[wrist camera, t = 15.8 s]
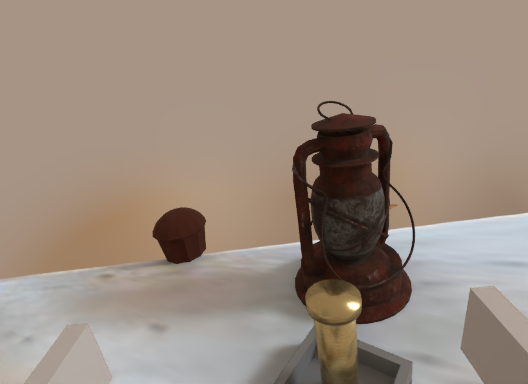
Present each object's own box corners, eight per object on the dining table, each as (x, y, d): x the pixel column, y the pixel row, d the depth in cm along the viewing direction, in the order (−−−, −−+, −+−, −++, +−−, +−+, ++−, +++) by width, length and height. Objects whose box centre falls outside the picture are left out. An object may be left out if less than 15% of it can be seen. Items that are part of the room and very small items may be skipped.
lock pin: (309, 404, 35) (295, 305, 30) (329, 368, 39) (320, 273, 33) (354, 431, 32) (348, 325, 27) (372, 388, 36) (369, 288, 30)
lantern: (341, 345, 43) (326, 122, 32) (276, 274, 59) (251, 111, 48) (439, 290, 49) (454, 91, 38) (356, 240, 66) (350, 90, 55)
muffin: (185, 272, 64) (173, 229, 60) (149, 261, 70) (136, 221, 66) (221, 242, 73) (213, 203, 69) (187, 235, 79) (177, 198, 75)
